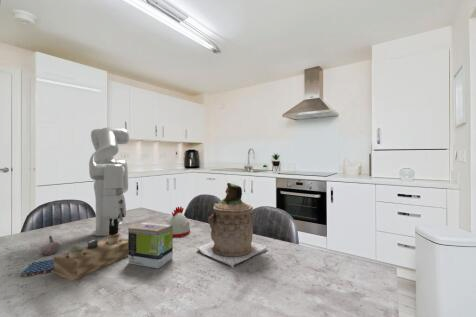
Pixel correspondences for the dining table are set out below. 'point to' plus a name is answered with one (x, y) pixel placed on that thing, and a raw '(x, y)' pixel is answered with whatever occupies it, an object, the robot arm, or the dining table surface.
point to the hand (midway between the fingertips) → (113, 233)
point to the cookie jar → (231, 230)
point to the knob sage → (75, 251)
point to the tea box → (150, 244)
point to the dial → (92, 244)
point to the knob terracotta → (113, 238)
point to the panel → (90, 259)
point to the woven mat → (39, 268)
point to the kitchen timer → (179, 223)
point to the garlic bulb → (50, 247)
